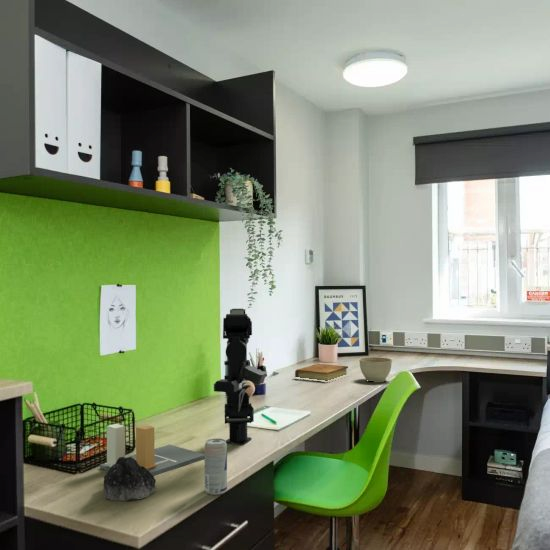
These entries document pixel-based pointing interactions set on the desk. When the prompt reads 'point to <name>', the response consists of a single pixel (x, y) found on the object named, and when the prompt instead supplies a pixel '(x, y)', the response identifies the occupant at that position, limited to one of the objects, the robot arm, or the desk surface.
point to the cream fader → (115, 443)
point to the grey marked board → (169, 458)
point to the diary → (321, 372)
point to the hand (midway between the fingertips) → (237, 411)
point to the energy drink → (215, 466)
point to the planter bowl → (375, 368)
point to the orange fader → (145, 446)
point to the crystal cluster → (128, 481)
